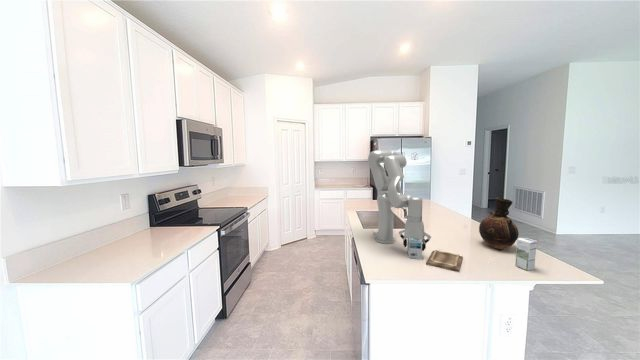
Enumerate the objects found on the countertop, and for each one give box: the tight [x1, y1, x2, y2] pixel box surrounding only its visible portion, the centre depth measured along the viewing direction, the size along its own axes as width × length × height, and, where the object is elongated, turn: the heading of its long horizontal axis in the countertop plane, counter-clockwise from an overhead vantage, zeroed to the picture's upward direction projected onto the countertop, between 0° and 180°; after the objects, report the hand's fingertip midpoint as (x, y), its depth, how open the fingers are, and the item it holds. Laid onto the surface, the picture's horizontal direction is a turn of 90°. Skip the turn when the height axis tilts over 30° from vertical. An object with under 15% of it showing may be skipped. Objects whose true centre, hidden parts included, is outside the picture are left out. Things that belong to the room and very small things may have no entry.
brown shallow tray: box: [425, 249, 464, 273], centre depth 131 cm, size 15×18×2 cm
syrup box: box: [514, 237, 538, 272], centre depth 122 cm, size 6×6×14 cm
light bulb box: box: [406, 238, 423, 260], centre depth 139 cm, size 11×7×11 cm, turn 167°
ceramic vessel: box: [478, 197, 519, 250], centre depth 148 cm, size 21×18×30 cm
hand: (414, 248), depth 139 cm, fingers open, 9 cm apart
